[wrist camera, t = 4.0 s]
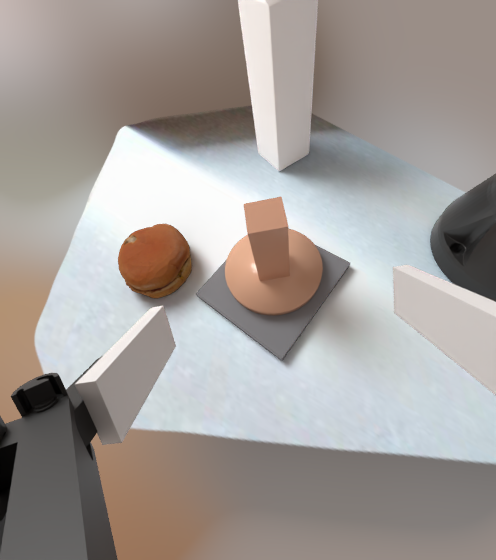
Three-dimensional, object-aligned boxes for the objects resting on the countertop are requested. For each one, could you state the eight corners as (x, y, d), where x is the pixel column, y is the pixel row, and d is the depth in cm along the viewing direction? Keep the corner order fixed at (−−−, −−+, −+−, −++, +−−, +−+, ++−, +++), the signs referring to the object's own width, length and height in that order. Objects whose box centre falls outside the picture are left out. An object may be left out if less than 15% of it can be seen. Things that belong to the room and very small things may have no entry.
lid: (332, 306, 28) (351, 257, 19) (230, 322, 29) (203, 283, 20) (309, 225, 34) (315, 158, 25) (224, 241, 35) (200, 182, 26)
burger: (179, 304, 33) (163, 289, 28) (119, 292, 35) (96, 276, 31) (205, 241, 37) (193, 220, 33) (149, 234, 39) (132, 213, 35)
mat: (349, 266, 31) (350, 262, 30) (281, 360, 27) (281, 359, 27) (264, 222, 36) (263, 218, 36) (197, 296, 33) (195, 293, 32)
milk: (309, 154, 41) (325, -73, 22) (278, 172, 40) (266, -47, 21) (286, 137, 44) (282, -78, 25) (257, 154, 43) (229, -56, 24)
